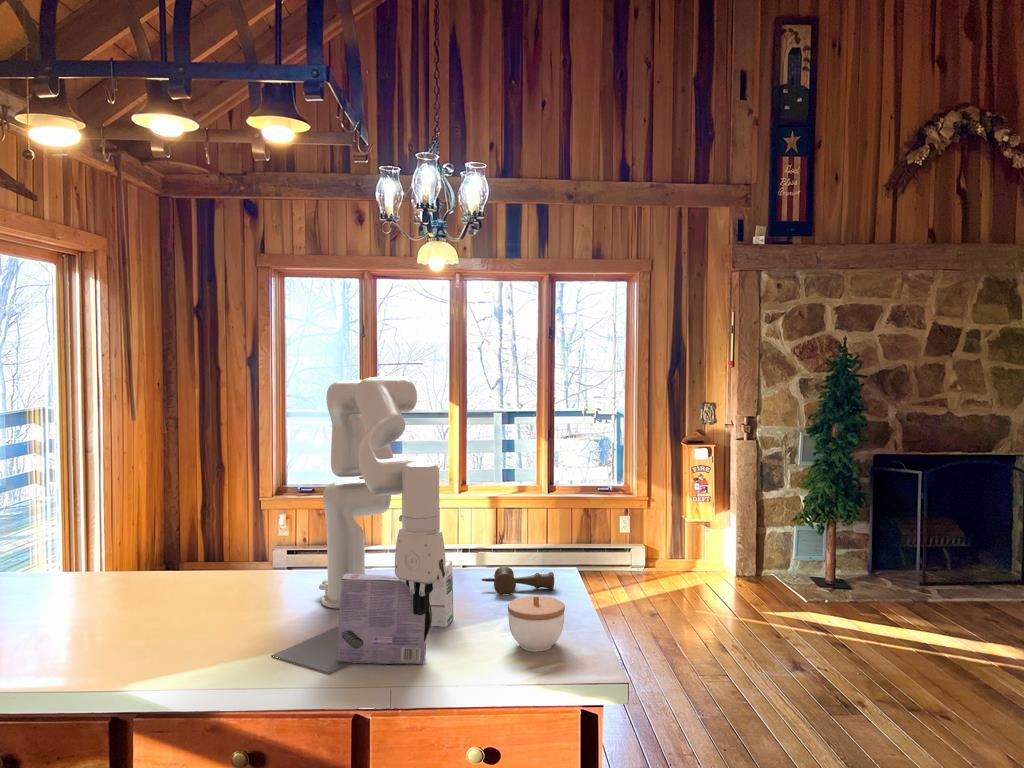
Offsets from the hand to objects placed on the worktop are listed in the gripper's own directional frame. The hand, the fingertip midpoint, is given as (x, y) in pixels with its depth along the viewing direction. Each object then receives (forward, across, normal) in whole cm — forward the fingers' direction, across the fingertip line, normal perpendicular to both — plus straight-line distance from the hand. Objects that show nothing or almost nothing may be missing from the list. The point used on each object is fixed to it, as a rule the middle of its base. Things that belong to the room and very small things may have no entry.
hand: (421, 612), depth 152 cm
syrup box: (+12, -14, +24) cm, 30 cm away
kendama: (+12, -11, +56) cm, 58 cm away
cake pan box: (+12, -10, 0) cm, 15 cm away
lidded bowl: (+12, +13, +24) cm, 30 cm away
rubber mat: (+12, -23, 0) cm, 26 cm away
